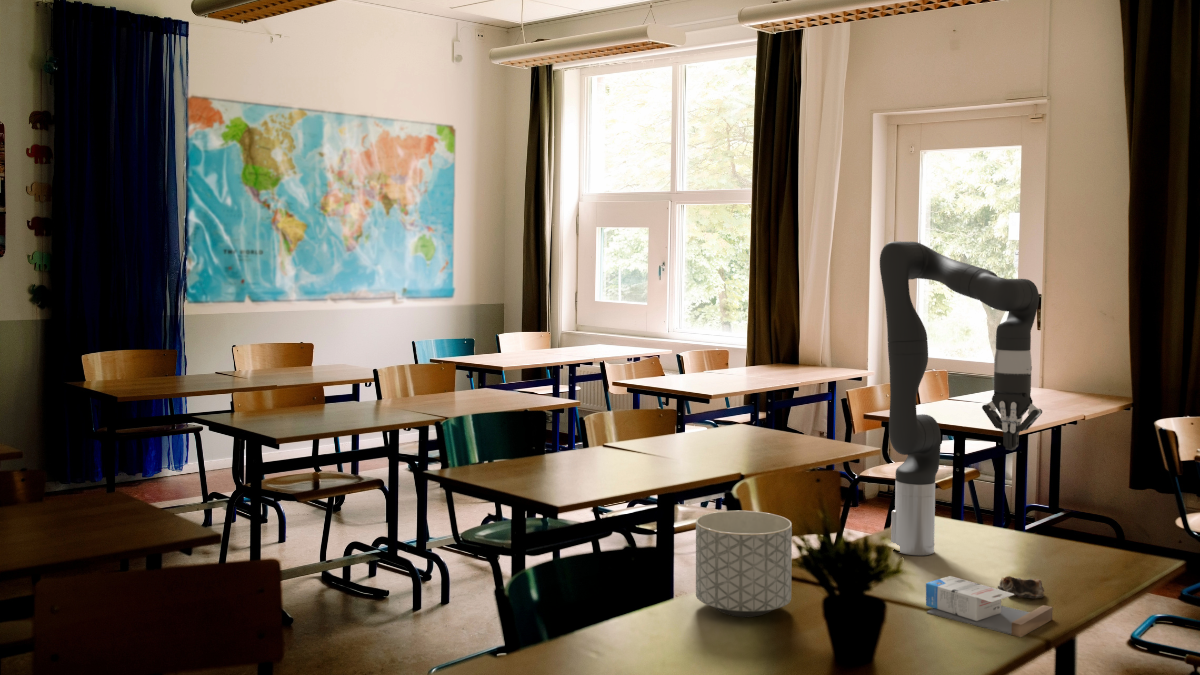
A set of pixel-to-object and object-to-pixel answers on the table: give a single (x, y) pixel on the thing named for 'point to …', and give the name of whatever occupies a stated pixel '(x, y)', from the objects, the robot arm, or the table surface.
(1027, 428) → the robot arm
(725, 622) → the table surface
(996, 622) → the mat
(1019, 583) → the rock
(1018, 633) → the stop rail
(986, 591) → the ink box
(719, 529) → the planter
